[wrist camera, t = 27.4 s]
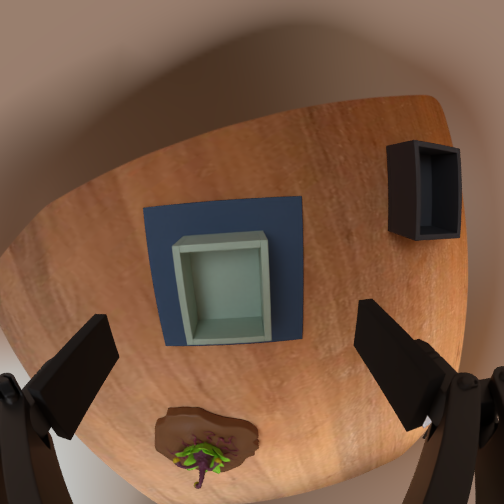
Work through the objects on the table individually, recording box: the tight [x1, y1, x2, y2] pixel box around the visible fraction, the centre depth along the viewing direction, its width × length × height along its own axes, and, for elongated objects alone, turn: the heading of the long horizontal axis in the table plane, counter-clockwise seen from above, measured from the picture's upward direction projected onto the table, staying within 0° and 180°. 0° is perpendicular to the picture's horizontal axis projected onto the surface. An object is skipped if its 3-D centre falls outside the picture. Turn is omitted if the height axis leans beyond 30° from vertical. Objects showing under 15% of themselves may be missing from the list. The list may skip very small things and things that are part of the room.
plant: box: [155, 407, 259, 489], centre depth 38 cm, size 20×20×11 cm
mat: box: [143, 196, 303, 346], centre depth 35 cm, size 20×20×1 cm
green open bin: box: [172, 231, 272, 345], centre depth 32 cm, size 12×10×6 cm
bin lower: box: [386, 140, 462, 241], centre depth 30 cm, size 12×8×7 cm
